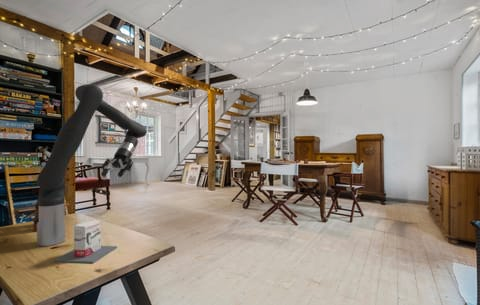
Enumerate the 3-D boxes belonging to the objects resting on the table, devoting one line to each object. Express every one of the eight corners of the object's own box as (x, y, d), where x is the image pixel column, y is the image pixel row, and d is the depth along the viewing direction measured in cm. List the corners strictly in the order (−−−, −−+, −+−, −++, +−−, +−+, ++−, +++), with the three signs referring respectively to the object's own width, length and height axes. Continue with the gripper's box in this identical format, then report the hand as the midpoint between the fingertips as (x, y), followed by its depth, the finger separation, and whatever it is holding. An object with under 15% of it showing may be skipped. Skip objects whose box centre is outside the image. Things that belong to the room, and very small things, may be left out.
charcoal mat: (53, 261, 88) (53, 259, 88) (82, 246, 102) (82, 245, 102) (93, 263, 87) (93, 261, 87) (117, 247, 101) (117, 246, 101)
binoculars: (34, 224, 134) (34, 189, 134) (53, 221, 139) (52, 187, 139) (32, 233, 120) (31, 193, 120) (52, 229, 125) (52, 191, 125)
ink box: (84, 257, 90) (84, 226, 90) (73, 256, 91) (73, 226, 91) (101, 248, 99) (101, 219, 99) (91, 247, 99) (90, 219, 99)
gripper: (109, 147, 125) (93, 171, 114) (134, 147, 123) (121, 171, 112) (115, 157, 130) (101, 180, 119) (140, 157, 129) (128, 181, 117)
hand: (111, 176), depth 116 cm, fingers open, 8 cm apart
